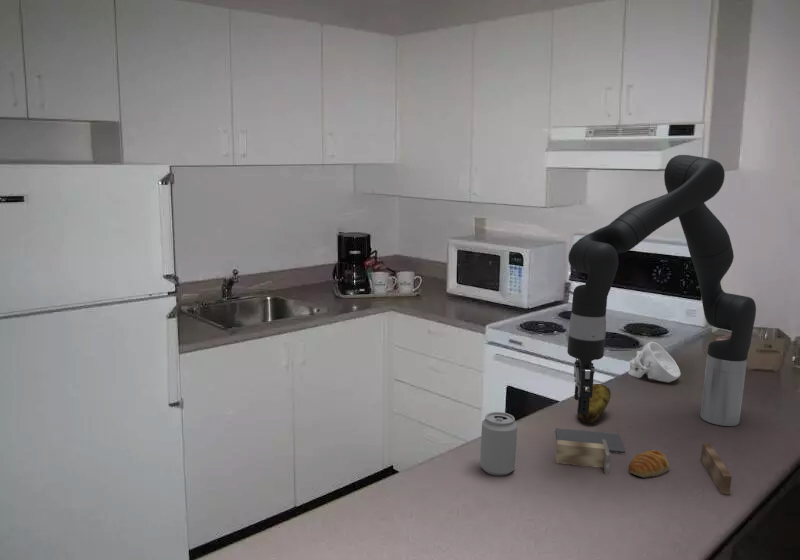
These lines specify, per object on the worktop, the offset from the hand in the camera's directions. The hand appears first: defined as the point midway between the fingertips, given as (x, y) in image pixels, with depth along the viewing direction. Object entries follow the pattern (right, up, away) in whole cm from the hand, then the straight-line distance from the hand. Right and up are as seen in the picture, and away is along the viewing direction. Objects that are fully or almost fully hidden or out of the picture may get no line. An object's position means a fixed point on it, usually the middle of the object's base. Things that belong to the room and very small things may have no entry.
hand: (581, 406), depth 146 cm
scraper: (0, -13, +2) cm, 13 cm away
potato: (+11, -8, +29) cm, 32 cm away
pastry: (+15, -14, 0) cm, 20 cm away
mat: (+6, -11, +14) cm, 18 cm away
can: (-18, -13, -1) cm, 23 cm away
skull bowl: (+39, -3, +61) cm, 72 cm away
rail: (+28, -14, -2) cm, 32 cm away
